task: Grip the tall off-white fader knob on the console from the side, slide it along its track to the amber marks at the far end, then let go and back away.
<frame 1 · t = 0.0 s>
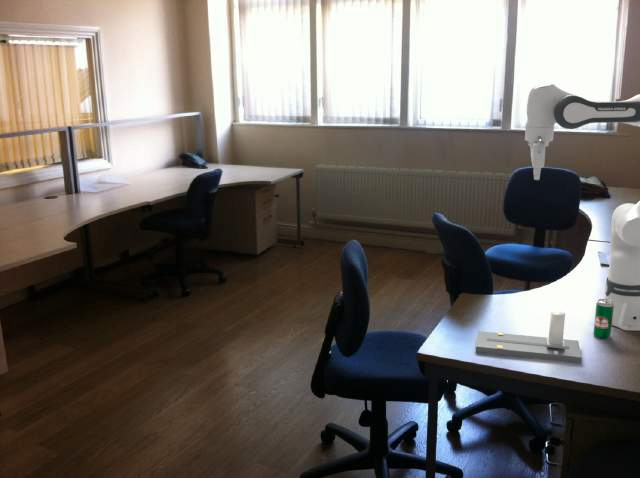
hand: (536, 177, 212), 48 cm above the table, tool pointing down, fingers open, 8 cm apart
fader knob: (556, 329, 191), point 8 cm above the table, slide at -8.0 cm
soda can: (601, 336, 203), on the table
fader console: (526, 349, 195), on the table
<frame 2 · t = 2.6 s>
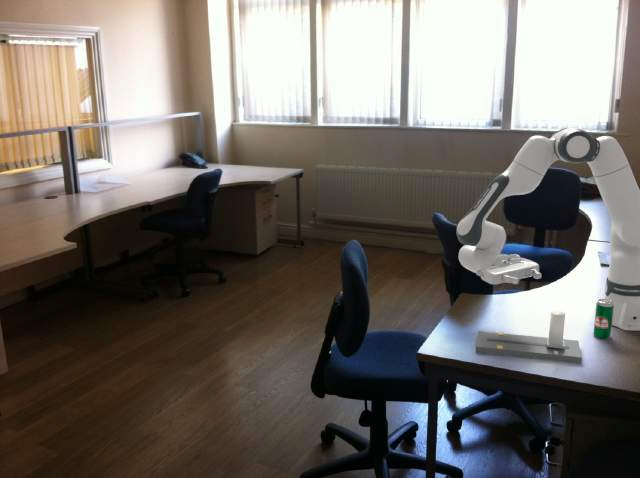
hand: (528, 278, 198), 20 cm above the table, tool horizontal, fingers open, 8 cm apart
nothing on the table moved.
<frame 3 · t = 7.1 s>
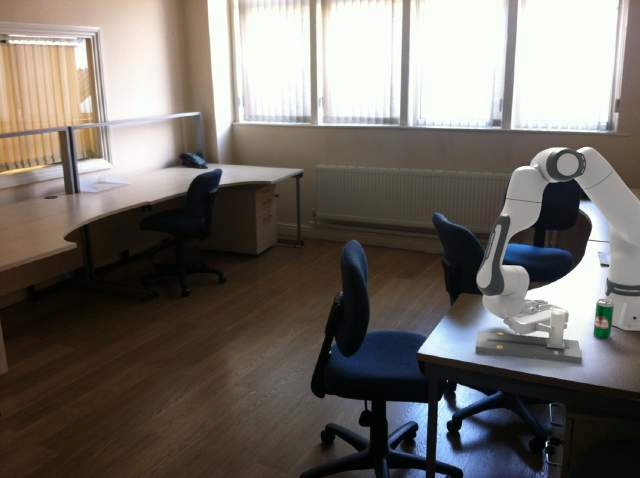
hand: (559, 328, 190), 8 cm above the table, tool horizontal, fingers closed on fader knob, 4 cm apart
fader knob: (556, 329, 191), point 8 cm above the table, slide at -8.0 cm, touching gripper
everything else where it was.
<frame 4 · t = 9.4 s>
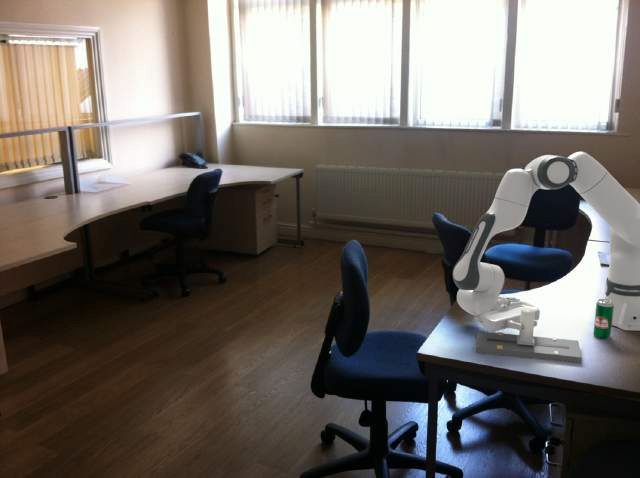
hand: (529, 326, 192), 8 cm above the table, tool horizontal, fingers closed on fader knob, 4 cm apart
fader knob: (526, 326, 193), point 8 cm above the table, slide at 0.5 cm, touching gripper
everything else where it was.
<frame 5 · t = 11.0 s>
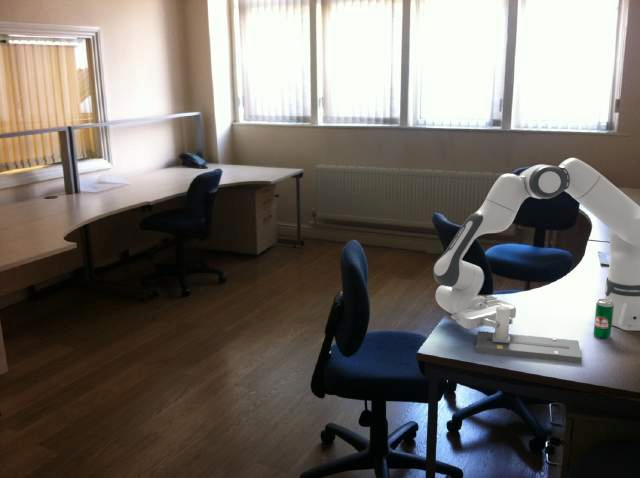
hand: (504, 323, 194), 8 cm above the table, tool horizontal, fingers closed on fader knob, 4 cm apart
fader knob: (502, 324, 195), point 8 cm above the table, slide at 7.7 cm, touching gripper
everything else where it was.
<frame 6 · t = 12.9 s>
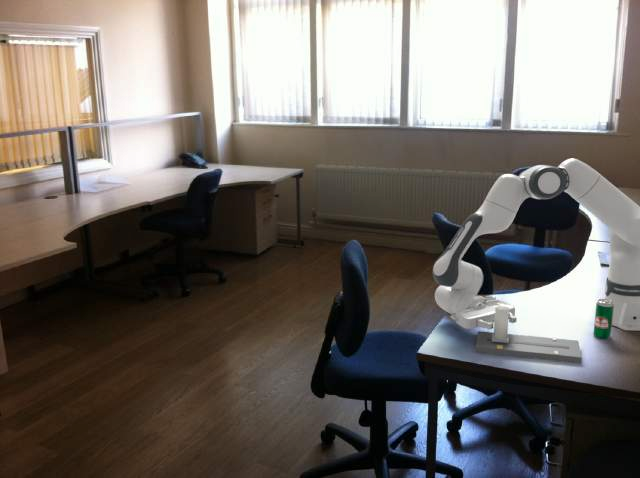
hand: (503, 323, 194), 8 cm above the table, tool horizontal, fingers open, 8 cm apart
fader knob: (501, 323, 195), point 8 cm above the table, slide at 8.0 cm
everything else where it was.
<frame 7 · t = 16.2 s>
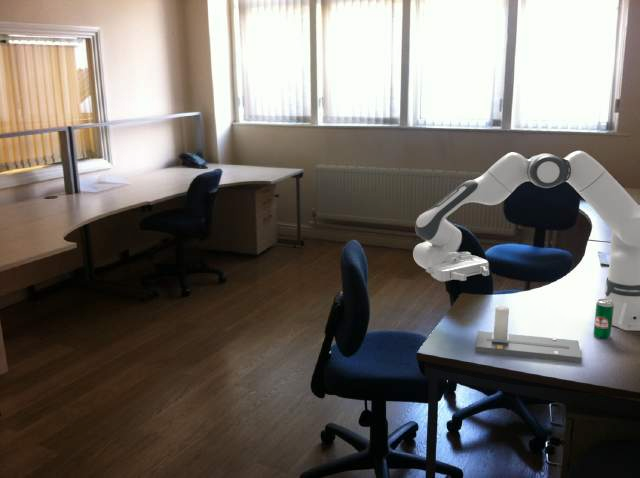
hand: (476, 275, 202), 20 cm above the table, tool horizontal, fingers open, 8 cm apart
nothing on the table moved.
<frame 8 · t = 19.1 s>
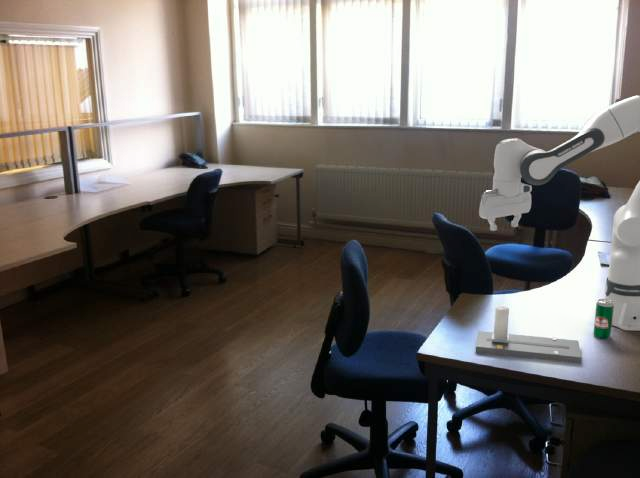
hand: (504, 228, 214), 31 cm above the table, tool pointing down, fingers open, 8 cm apart
nothing on the table moved.
at the end: fader knob slide at 8.0 cm; the gripper is holding nothing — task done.
